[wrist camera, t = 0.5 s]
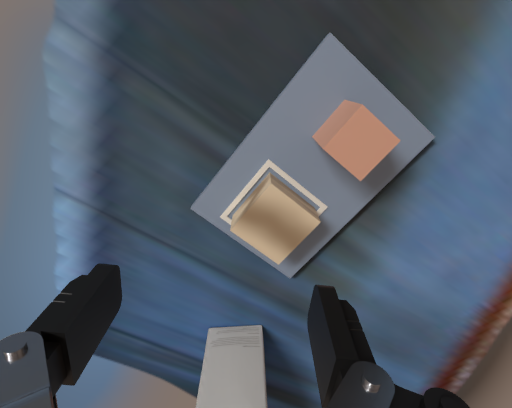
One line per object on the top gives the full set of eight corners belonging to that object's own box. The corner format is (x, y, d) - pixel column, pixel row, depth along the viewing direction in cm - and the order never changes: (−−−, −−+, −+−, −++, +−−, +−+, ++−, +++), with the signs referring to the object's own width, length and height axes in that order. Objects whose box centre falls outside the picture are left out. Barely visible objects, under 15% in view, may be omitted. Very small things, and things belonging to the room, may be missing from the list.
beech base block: (269, 172, 36) (271, 183, 32) (314, 207, 37) (320, 222, 34) (232, 215, 38) (230, 230, 34) (276, 247, 39) (278, 264, 36)
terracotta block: (344, 99, 33) (362, 104, 27) (377, 130, 34) (400, 140, 28) (311, 136, 34) (322, 148, 28) (344, 164, 35) (360, 181, 30)
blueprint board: (327, 34, 31) (330, 32, 30) (429, 135, 35) (436, 137, 34) (192, 204, 38) (190, 209, 37) (289, 273, 42) (290, 279, 41)
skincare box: (212, 357, 48) (193, 476, 34) (207, 324, 46) (185, 438, 31) (266, 355, 48) (270, 474, 34) (264, 322, 46) (268, 435, 31)
